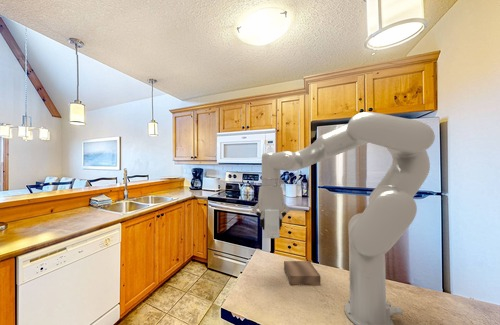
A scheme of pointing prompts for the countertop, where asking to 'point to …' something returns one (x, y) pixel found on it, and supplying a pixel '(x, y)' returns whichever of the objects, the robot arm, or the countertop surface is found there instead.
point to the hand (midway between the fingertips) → (271, 228)
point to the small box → (271, 223)
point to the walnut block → (301, 273)
